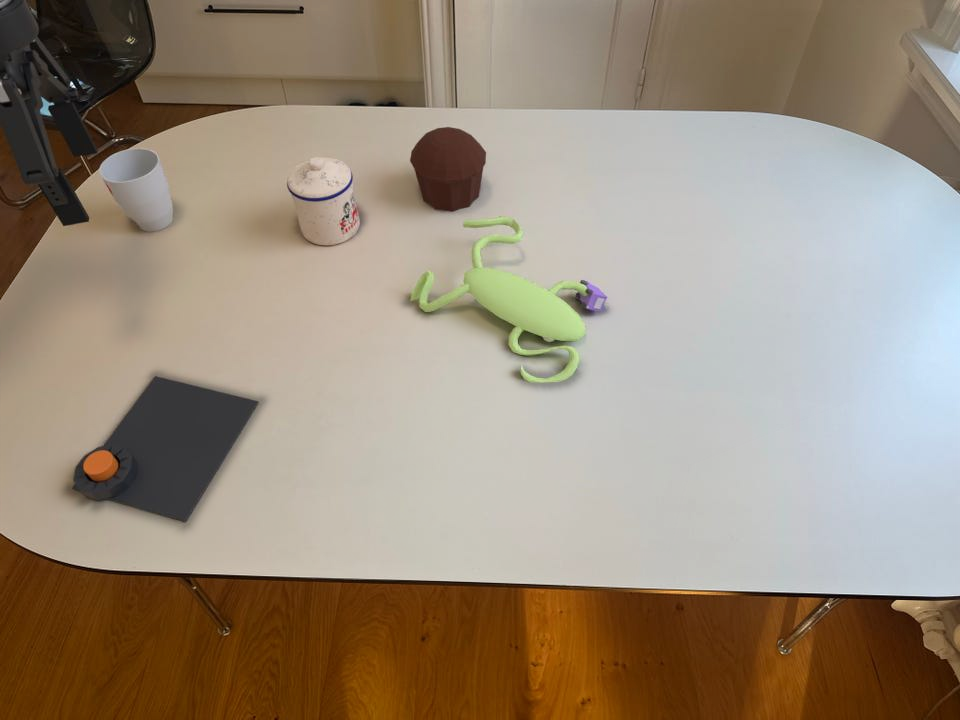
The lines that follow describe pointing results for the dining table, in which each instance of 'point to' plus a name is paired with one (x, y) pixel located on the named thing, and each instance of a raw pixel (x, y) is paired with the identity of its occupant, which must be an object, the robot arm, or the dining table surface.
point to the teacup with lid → (324, 200)
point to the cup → (139, 187)
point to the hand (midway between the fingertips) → (81, 186)
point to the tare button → (100, 465)
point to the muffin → (448, 168)
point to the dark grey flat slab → (169, 448)
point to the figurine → (519, 300)
